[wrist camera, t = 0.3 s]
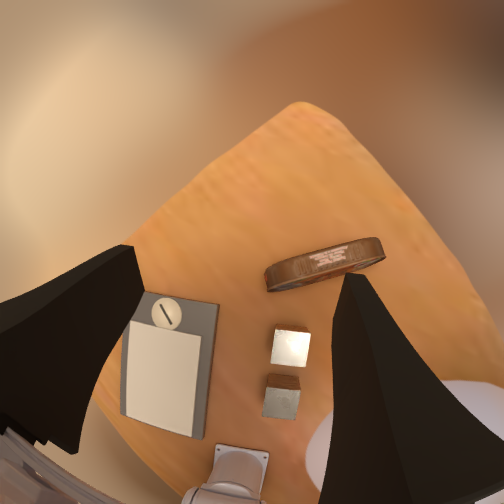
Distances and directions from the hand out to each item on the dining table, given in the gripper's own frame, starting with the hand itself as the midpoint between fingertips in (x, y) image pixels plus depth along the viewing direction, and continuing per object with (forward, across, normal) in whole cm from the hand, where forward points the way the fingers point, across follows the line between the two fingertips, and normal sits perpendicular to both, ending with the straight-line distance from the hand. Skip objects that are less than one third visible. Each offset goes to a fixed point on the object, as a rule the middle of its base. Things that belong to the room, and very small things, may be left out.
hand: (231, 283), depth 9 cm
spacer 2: (+12, -3, +29) cm, 31 cm away
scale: (+12, +14, +28) cm, 34 cm away
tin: (+24, -6, +16) cm, 30 cm away
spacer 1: (+17, -3, +23) cm, 29 cm away
